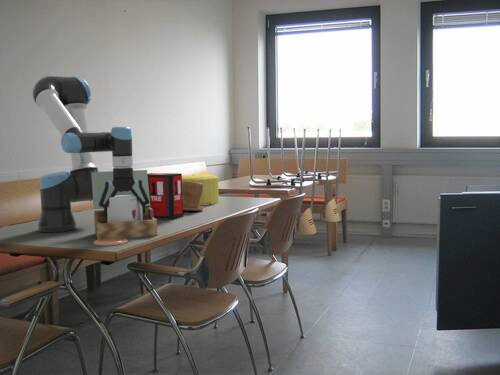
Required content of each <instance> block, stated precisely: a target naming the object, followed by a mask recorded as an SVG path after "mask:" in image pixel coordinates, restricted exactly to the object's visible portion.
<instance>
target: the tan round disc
mask: <svg viewBox="0 0 500 375" xmlns="http://www.w3.org/2000/svg"><path fill="white" fill-rule="evenodd" d="M128 242H129V241H128V239H127V238H105V239H99V240H98V239H96V240H94V241H93V245H95V246H98V247H112V246H121V245H125V244H127V243H128Z"/></svg>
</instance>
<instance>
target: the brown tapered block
mask: <svg viewBox="0 0 500 375" xmlns="http://www.w3.org/2000/svg"><path fill="white" fill-rule="evenodd" d="M202 191H203V184H202V183H198V182H189V181H184V182H183V183H182V195H183V212H198V211H203V210H204V206H200V204H199V201H200V198H201V195H202Z"/></svg>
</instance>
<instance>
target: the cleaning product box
mask: <svg viewBox="0 0 500 375" xmlns="http://www.w3.org/2000/svg"><path fill="white" fill-rule="evenodd" d="M182 174H183V173H171V172H170V173H164V172H163V173H158V172H157V173H155V172H153V173H152V172H149V173H147V176H148V187H149V197H150V206H145V208H148V207H151V208H152V209H153V217H154V218H155V219H156V220H170V219H171V220H177V219H181V218H183V217H184V211H183V198H182V176H183V175H182Z"/></svg>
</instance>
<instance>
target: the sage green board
mask: <svg viewBox="0 0 500 375" xmlns="http://www.w3.org/2000/svg"><path fill="white" fill-rule="evenodd" d="M147 174H148V170H147V169H140V170H139V169H136V170H135V169H133V179H134V180H141V181H142V186H143V188H144V191H145V193H146V195H147V197H148V199H149V202H150V197H149V187H148V176H147ZM91 175H92V189H93V200H92V201H93V203H92V204H93V210H104V208H103V207H100V206H99V202H100V199H101V197H102V194H103V191H104V188H105V181H108V182H112V181H113V170H112V171H111V170H110V171H98V172H91ZM132 188H133V189H134V190H135V192H136V193H137V194H138V195H139V197H140V198H141V199H142V200H143V202H144V201H145V199H144V197H143V195H142V193H141V191H140V189H139V186H137V185H136V183H135V184H134V185H133V187H132ZM114 189H115V187H114V186H113V184H112V185H111V186H110V187H109V189H108V192H107V194H106V197H105V200H104V203H103V204H105V203H106V201H107V200H108V198H109V197H110V195H111V194H112V192H113V190H114ZM118 195H133V193H132V192H131V191H128V192H126V191H123V192H119V191H118V192H117V194H116V195H115V196H118ZM139 205H141V203H140V202H139ZM145 206H150V203H149V204H146V205H145ZM108 207H109V205H108Z"/></svg>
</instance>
